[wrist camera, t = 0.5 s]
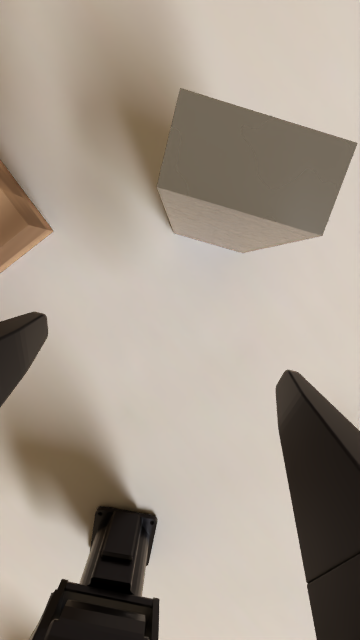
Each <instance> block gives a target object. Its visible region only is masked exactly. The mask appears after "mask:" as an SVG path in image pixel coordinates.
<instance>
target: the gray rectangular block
mask: <svg viewBox="0 0 360 640" xmlns="http://www.w3.org/2000/svg"><path fill="white" fill-rule="evenodd" d="M356 146H357V143H356V142H352V141H349V140H346V139H343V138H339V137H336V136H333V135H330V134H327V133H323V132H320V131H317V130H314V129H310V128H307V127H304V126H301V125H297V124H294V123H291V122H288V121H285V120H281V119H278V118H275V117H272V116H268V115H265V114H262V113H259V112H256V111H252V110H249V109H246V108H243V107H239V106H236V105H233V104H230V103H226V102H223V101H220V100H217V99H214V98H210V97H207V96H204V95H201V94H197V93H194V92H191V91H188V90H185V89H181V88H180V91H179V95H178V100H177V104H176V108H175V112H174V116H173V121H172V125H171V129H170V133H169V137H168V142H167V146H166V150H165V154H164V158H163V162H162V167H161V171H160V175H159V179H158V183H157V189H158V192H159V195H160V197H161V200H162V202H163V205H164V208H165V210H166V213H167V216H168V218H169V221H170V224H171V226H172V229H173V232H174V233H175V234H178V235H182V236H185V237H189V238H192V239H196V240H199V241H203V242H206V243H209V244H213V245H216V246H220V247H223V248H227V249H230V250H234V251H237V252H241V253H245V252H250V251H255V250H259V249H264V248H268V247H273V246H278V245H282V244H287V243H292V242H296V241H301V240H305V239H310V238H315V237H319V236H322V235H323V232H324V230H325V227H326V225H327V222H328V219H329V217H330V214H331V211H332V209H333V206H334V203H335V201H336V198H337V196H338V193H339V190H340V188H341V185H342V182H343V180H344V177H345V175H346V172H347V169H348V167H349V164H350V161H351V159H352V156H353V153H354V151H355V148H356Z"/></svg>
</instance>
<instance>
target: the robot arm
mask: <svg viewBox="0 0 360 640" xmlns="http://www.w3.org/2000/svg"><path fill="white" fill-rule="evenodd" d="M47 336H48V326H47V317H46V315H45V314H43V313H38V312H31V313H27V314H24V315H21V316H18V317H14V318H11V319H8V320H5V321H1V322H0V407H1V406H2V404H3V403H4V402H5V400H6V399H7V398H8V396H9V395H10V394H11V392H12V391H13V390H14V388H15V387H16V386H17V384H18V383H19V382H20V380H21V379H22V378H23V376H24V375H25V374H26V372H27V371H28V369H29V367H30V366H31V364H32V362H33V361H34V359H35V357H36V356H37V354H38V352H39V351H40V349H41V347H42V345H43V344H44V342H45V340H46V339H47ZM276 403H277V417H278V429H279V435H280V440H281V446H282V451H283V457H284V462H285V468H286V473H287V479H288V484H289V489H290V495H291V500H292V506H293V511H294V517H295V522H296V527H297V533H298V538H299V544H300V549H301V555H302V560H303V566H304V571H305V576H306V582H307V583H308V584H307V588H308V594H309V599H310V605H311V610H312V616H313V621H314V626H315V632H316V637H317V640H360V431H359V430H358V429H357V428H356V427H355V426H354V425H353V424H352V423H351V422H350V421H349V420H348V419H346V418H345V417H344V416H343V415H342V414H341V413H340V412H339V411H338V410H337V409H336V408H335V407H334V406H333V405H332V404H331V403H330V402H329V401H328V400H327V399H326V398H325V397H324V396H322V395H321V394H320V393H319V392H318V391H317V390H316V389H315V388H314V387H313V386H312V385H311V384H310V383H309V382H308V381H307V380H306V379H305V378H304V377H303V376H302V375H301V374H299V373H298V372H296V371H292V370H286V371H285V372H284V373H283V375H282V377H281V378H280V380H279V382H278V383H277V386H276ZM156 525H157V517H156V516H153V515H148V514H142V513H136V512H131V511H125V510H119V509H114V508H108V507H102V506H100V507H98V508H97V510H96V514H95V521H94V527H93V534H92V541H91V548H90V554H89V557H88V560H87V563H86V566H85V569H84V572H83V575H82V578H81V581H80V584H77V583H73V582H68V580H65V579H62V580H61V582H60V585H59V587H58V589H57V590H56V589H55V591H54V592H53V593H51V596H50V598H49V601H48V603H47V606H46V608H45V610H44V613H43V615H42V617H41V619H40V621H39V623H38V625H37V626H36V628H35V630H34V632H33V633H32V635H31V637H30V639H29V640H158V631H159V599H158V598H153V599H151V598H146V597H142V590H143V583H144V576H145V568H146V566H147V565H148V563H149V559H150V554H151V549H152V544H153V539H154V535H155V530H156Z"/></svg>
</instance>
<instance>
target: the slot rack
mask: <svg viewBox="0 0 360 640" xmlns="http://www.w3.org/2000/svg"><path fill="white" fill-rule="evenodd" d="M52 232H53V230H52V229H51V227H50V226H49V225H48V223H47V222H46V221H45V219H44V218H43V217H42V215H41V214H40V213H39V211H38V210H37V209H36V207H35V206H34V205H33V203H32V202H31V201H30V199H29V198H28V197H27V195H26V194H25V193H24V191H23V190H22V188H21V187H20V186H19V184H18V183H17V182H16V180H15V179H14V178H13V176H12V175H11V174H10V172H9V171H8V170H7V168H6V167H5V166H4V164H3V163H2V162H1V160H0V273H1V272H2V271H4V270H5V269H6V268H7V267H9V266H10V265H11V264H12V263H14V262H15V261H16V260H18V259H19V258H20V257H21V256H23V255H24V254H25V253H26V252H28V251H29V250H30V249H32V248H33V247H34V246H35V245H37V244H38V243H39V242H40V241H42V240H43V239H44V238H46V237H47V236H48V235H49V234H51V233H52Z"/></svg>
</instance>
